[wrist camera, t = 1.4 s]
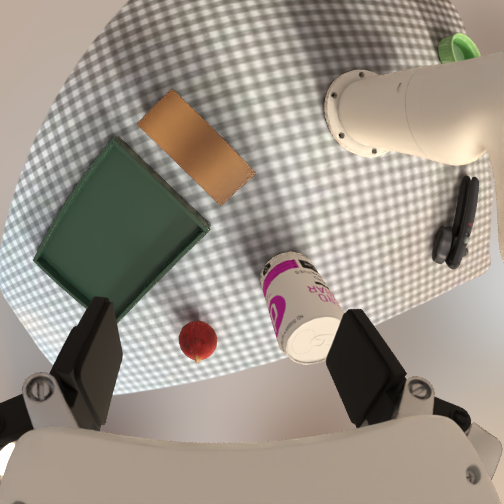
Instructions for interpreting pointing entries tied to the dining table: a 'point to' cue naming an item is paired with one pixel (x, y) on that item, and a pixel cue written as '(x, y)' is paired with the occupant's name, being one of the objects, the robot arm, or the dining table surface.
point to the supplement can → (300, 307)
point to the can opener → (458, 227)
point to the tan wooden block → (196, 147)
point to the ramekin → (457, 48)
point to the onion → (197, 340)
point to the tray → (118, 231)
